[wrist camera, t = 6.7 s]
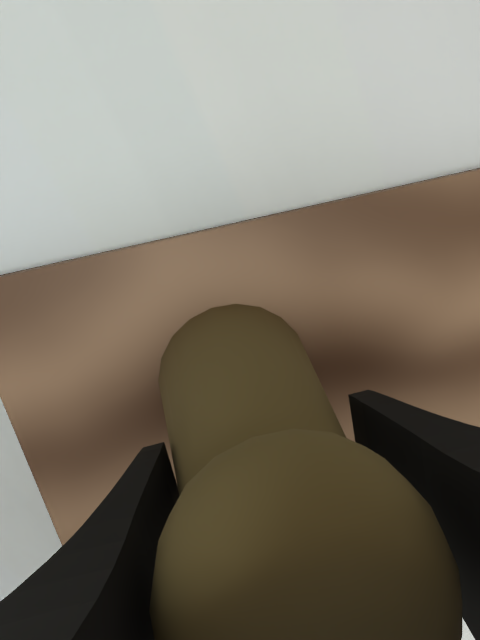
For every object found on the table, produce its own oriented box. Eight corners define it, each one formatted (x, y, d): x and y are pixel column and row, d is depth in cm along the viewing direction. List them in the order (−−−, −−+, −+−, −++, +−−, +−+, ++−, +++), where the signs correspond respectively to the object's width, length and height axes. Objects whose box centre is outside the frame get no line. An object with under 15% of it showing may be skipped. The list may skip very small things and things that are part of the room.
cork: (134, 333, 15) (19, 613, 4) (286, 282, 15) (517, 430, 5) (188, 465, 17) (197, 895, 6) (324, 416, 17) (556, 746, 6)
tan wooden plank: (517, 452, 21) (604, 515, 16) (92, 568, 19) (63, 671, 15) (510, 161, 17) (622, 142, 12) (-24, 280, 15) (-107, 306, 11)
